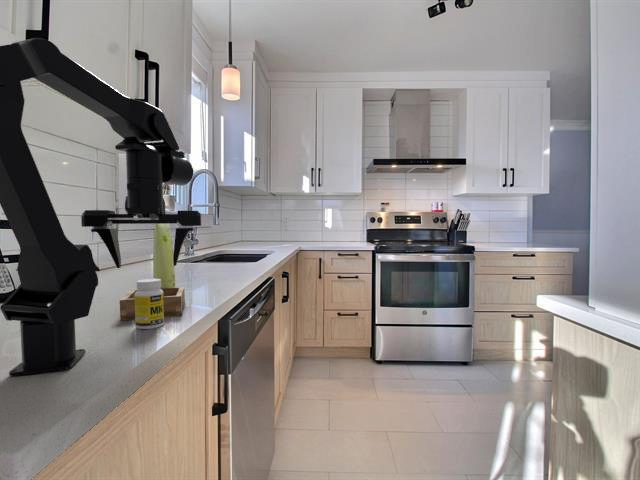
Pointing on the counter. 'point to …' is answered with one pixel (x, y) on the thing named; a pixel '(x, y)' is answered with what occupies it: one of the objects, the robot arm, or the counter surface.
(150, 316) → the supplement bottle
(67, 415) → the counter surface
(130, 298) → the walnut box
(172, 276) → the tube
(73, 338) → the robot arm
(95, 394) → the counter surface
